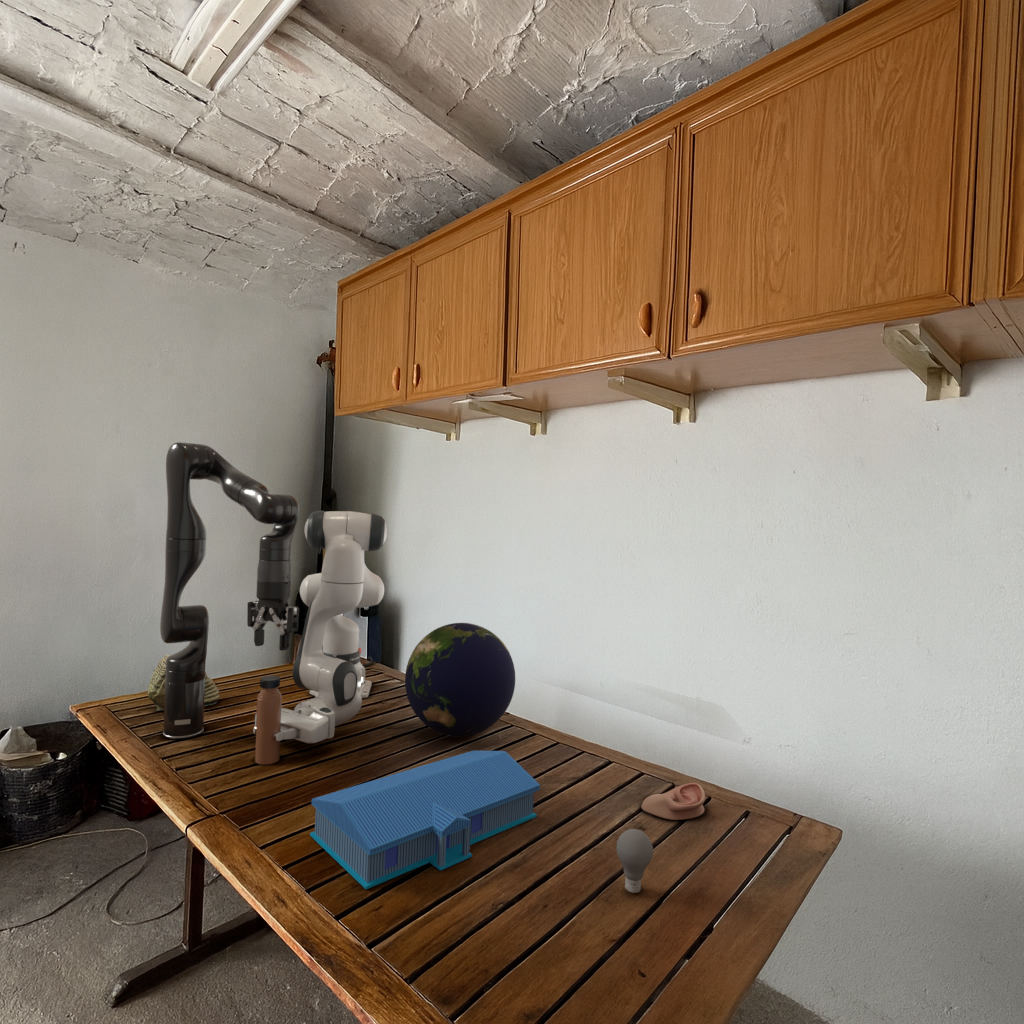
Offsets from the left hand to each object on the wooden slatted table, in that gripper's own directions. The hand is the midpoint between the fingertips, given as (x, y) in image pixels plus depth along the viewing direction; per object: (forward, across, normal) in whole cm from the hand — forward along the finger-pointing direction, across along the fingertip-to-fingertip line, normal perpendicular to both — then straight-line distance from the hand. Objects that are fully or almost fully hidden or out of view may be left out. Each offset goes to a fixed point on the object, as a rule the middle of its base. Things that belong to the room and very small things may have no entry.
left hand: (271, 647), depth 150 cm
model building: (+27, +51, -9) cm, 58 cm away
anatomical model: (+27, +91, +23) cm, 98 cm away
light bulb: (+27, +90, -10) cm, 95 cm away
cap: (+8, 0, 0) cm, 8 cm away
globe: (+27, +31, +38) cm, 56 cm away
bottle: (+27, 0, 0) cm, 27 cm away
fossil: (+27, -48, +16) cm, 58 cm away
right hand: (+21, 0, -1) cm, 21 cm away
